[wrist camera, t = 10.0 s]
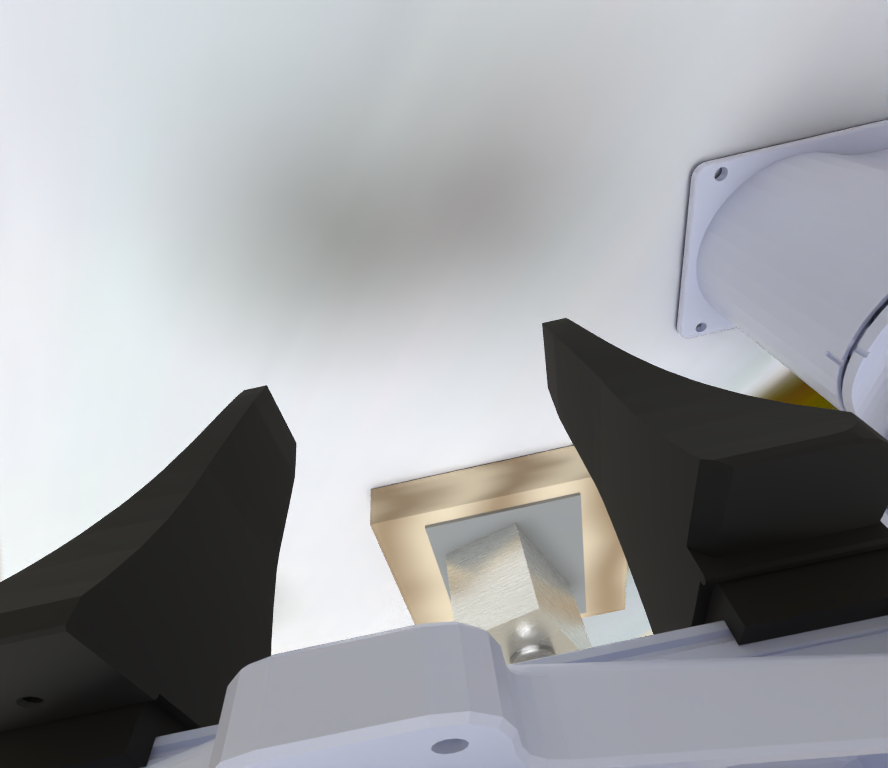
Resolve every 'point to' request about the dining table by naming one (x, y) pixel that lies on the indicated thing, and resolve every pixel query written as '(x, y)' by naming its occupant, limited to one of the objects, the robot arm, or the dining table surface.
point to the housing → (514, 596)
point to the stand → (491, 508)
